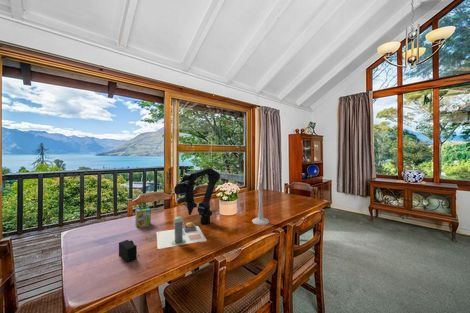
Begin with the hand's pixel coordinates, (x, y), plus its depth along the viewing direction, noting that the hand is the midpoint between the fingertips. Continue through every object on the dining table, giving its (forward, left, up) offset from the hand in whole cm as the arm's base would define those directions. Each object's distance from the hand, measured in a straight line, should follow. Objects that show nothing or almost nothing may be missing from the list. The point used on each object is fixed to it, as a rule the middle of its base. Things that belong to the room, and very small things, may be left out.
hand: (189, 215), depth 131 cm
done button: (0, 0, -8) cm, 8 cm away
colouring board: (+7, +8, -10) cm, 15 cm away
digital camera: (+34, +22, -11) cm, 42 cm away
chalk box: (+29, -22, -11) cm, 38 cm away
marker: (+9, +16, -10) cm, 21 cm away
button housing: (0, 0, -10) cm, 10 cm away
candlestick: (-52, +5, -11) cm, 53 cm away
